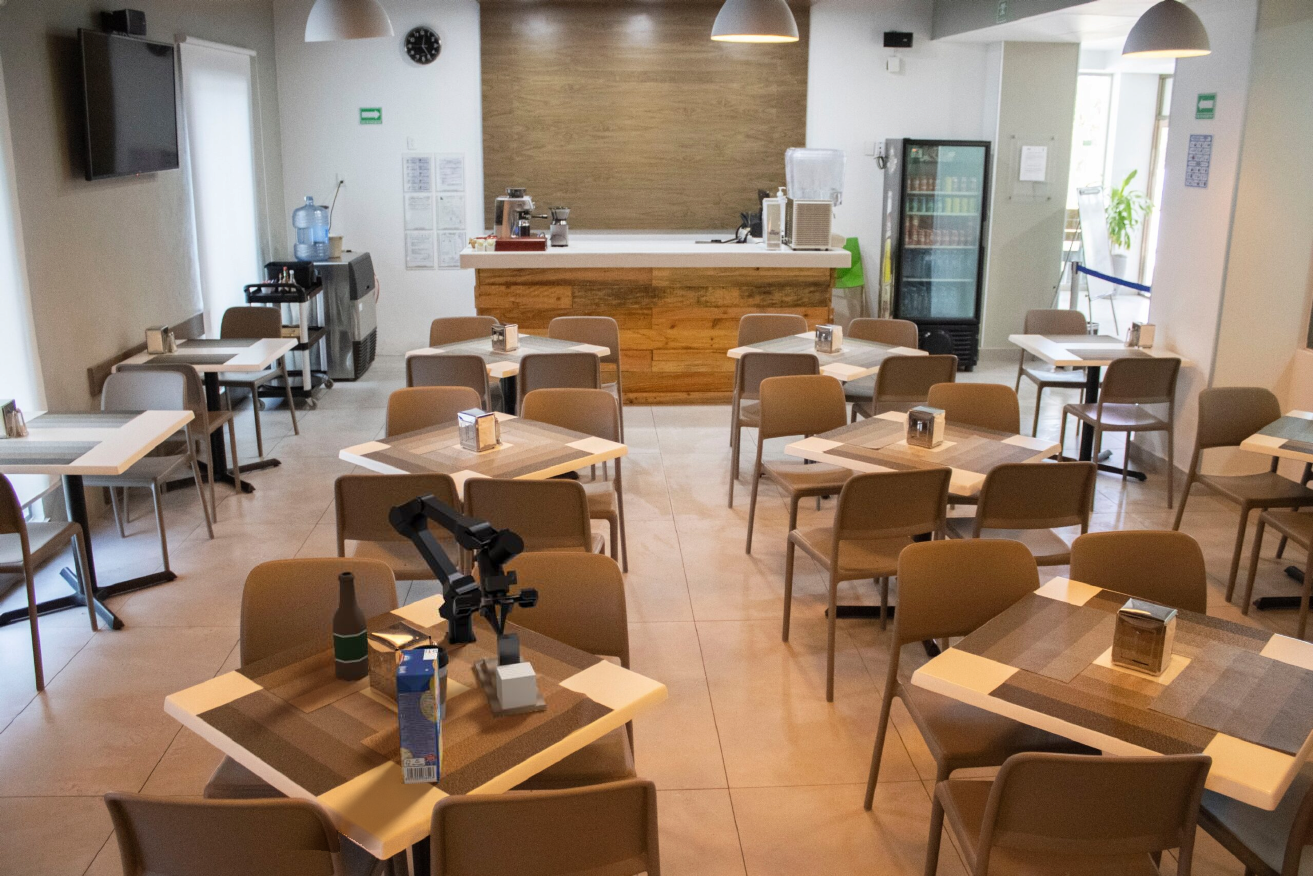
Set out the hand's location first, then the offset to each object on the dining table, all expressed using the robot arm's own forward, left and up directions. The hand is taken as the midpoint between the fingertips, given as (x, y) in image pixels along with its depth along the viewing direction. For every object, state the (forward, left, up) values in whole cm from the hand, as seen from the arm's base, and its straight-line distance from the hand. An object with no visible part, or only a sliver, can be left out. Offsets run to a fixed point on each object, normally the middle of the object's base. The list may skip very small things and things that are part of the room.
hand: (500, 637), depth 246 cm
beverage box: (+33, -22, -9) cm, 40 cm away
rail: (+6, 0, -9) cm, 11 cm away
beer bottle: (-11, -32, -9) cm, 35 cm away
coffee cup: (+14, -18, -9) cm, 24 cm away
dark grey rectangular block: (+10, 0, -8) cm, 13 cm away
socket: (+14, 0, -8) cm, 16 cm away
